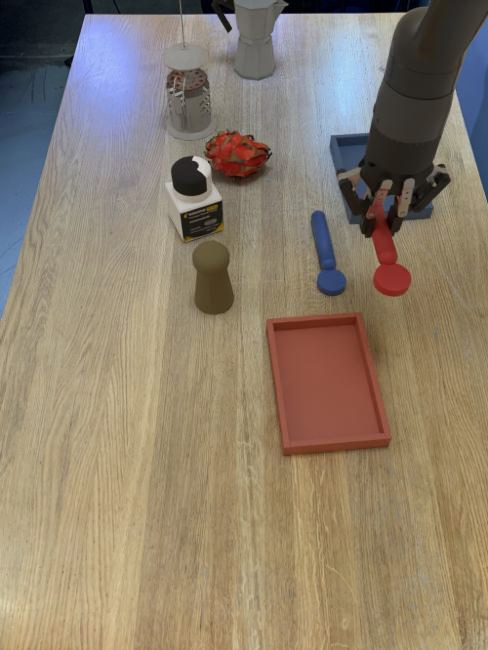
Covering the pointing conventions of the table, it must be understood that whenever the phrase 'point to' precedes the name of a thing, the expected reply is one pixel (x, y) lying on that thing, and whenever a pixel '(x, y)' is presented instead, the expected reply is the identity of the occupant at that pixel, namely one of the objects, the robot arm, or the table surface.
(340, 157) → the blue tray
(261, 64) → the coffee maker
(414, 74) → the robot arm
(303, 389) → the red tray
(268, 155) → the dragon fruit
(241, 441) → the table surface
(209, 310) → the cork
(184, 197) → the medicine bottle
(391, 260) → the red spoon
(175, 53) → the french press
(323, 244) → the blue spoon
